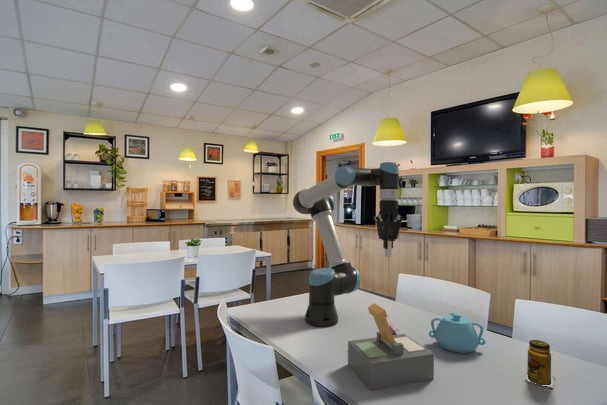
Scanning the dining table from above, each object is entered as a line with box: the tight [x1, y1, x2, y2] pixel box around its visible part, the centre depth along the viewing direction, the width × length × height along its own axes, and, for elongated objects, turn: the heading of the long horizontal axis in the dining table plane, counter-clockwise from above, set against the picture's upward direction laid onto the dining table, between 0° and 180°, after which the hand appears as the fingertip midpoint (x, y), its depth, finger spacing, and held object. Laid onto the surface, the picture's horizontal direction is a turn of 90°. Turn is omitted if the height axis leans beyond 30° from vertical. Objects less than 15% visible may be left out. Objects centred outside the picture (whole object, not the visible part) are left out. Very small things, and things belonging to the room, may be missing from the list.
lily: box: [387, 317, 400, 335], centre depth 132 cm, size 12×12×10 cm
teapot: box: [428, 312, 486, 354], centre depth 130 cm, size 20×20×13 cm
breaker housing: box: [347, 331, 435, 391], centre depth 110 cm, size 22×16×11 cm
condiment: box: [524, 339, 552, 389], centre depth 105 cm, size 7×8×12 cm
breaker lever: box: [367, 303, 395, 349], centre depth 109 cm, size 3×7×14 cm, turn 17°
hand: (388, 256), depth 139 cm, fingers closed
